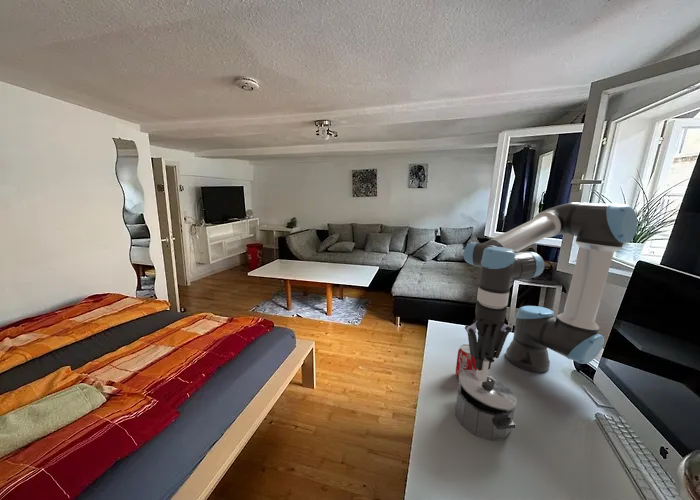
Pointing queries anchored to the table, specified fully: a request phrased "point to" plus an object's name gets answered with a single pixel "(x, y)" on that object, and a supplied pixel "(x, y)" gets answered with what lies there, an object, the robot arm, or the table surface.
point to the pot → (482, 417)
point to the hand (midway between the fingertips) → (481, 378)
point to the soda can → (465, 360)
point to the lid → (488, 391)
